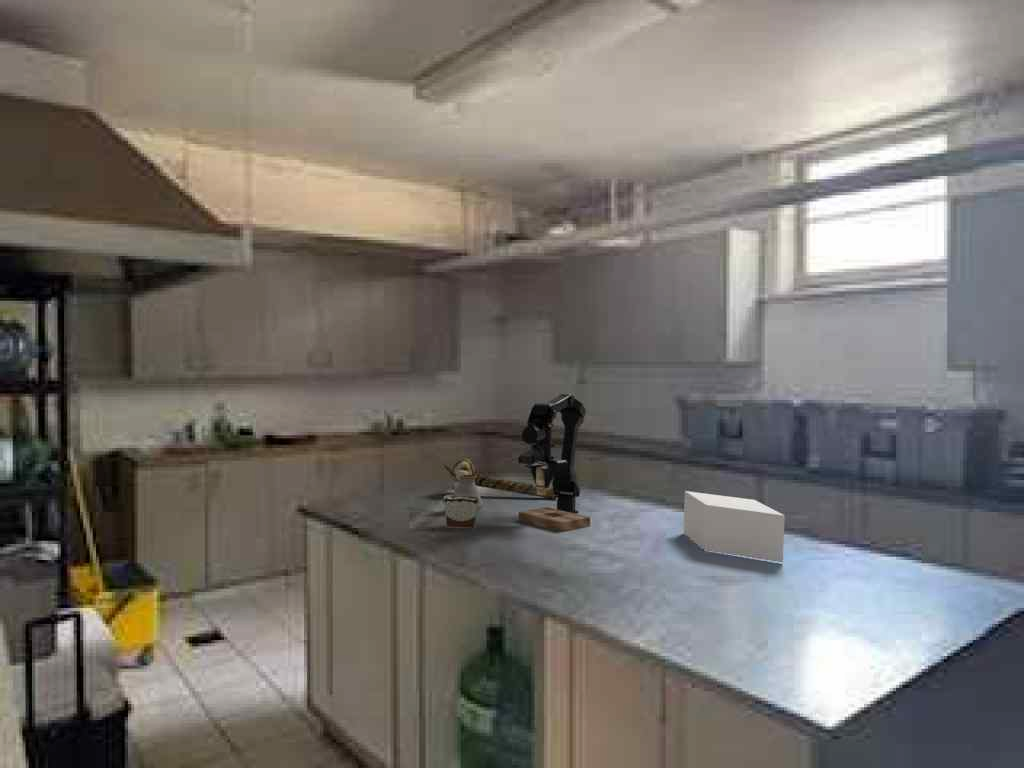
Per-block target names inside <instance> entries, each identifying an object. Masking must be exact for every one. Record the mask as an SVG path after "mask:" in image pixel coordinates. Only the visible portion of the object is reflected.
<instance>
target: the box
mask: <svg viewBox="0 0 1024 768" xmlns="http://www.w3.org/2000/svg"><path fill="white" fill-rule="evenodd" d="M683 502H684V504H683V506H684V507H683V533H684V534H686V535H687V536H688V537H689V538H690V539H692V540H693V541H694V542H695V543H697V544H698V545H699V546H700V547H702V548H703V549H704V550H707V551H713V552H721V553H726V554H732V555H740V556H746V557H752V558H758V559H765V560H771V561H778V562H783V563H784V544H785V543H784V542H785V538H784V537H785V518H786V517H785V514H783V513H781V512H779V511H777V510H775V509H773V508H771V507H769V506H767V505H765V504H763V503H762V502H759V501H758V500H756V499H750V498H744V497H735V496H728V495H726V496H725V495H720V494H713V493H711V494H710V493H705V492H703V493H702V492H696V491H687V490H685V491H684V501H683ZM684 534H683V535H684ZM686 535H685V536H686ZM687 536H686V537H687ZM688 537H687V538H688ZM689 538H688V539H689ZM690 539H689V540H690ZM692 540H691V541H692ZM693 541H692V542H693ZM694 542H693V543H694ZM695 543H694V544H695ZM699 546H698V547H699ZM700 547H699V548H700Z"/></svg>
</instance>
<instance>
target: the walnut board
mask: <svg viewBox="0 0 1024 768" xmlns="http://www.w3.org/2000/svg"><path fill="white" fill-rule="evenodd" d="M517 520H518V522H521V523H525V524H529V525H533V526H536V527H539V528H540V527H541V528H544V529H548V530H552V531H556V532H559V533H563V532H569V531H573V530H578V529H582V528H587V527H591V517H590V516H586V515H581V514H578V513H570V512H565V511H561V510H557V508H552V507H541V508H535V509H531V510H524V511H519V512H518V519H517Z"/></svg>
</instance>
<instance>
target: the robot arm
mask: <svg viewBox="0 0 1024 768" xmlns="http://www.w3.org/2000/svg"><path fill="white" fill-rule="evenodd" d="M586 411H587V410H586V408H585V406H584V404H583V403H582V402H581V401H579V400H578V399H576V398H575V397H574V395H573V394H567V393H560V394H559V395H558V396H556V397H554V398H552V399H550V400H549V401H546V402H538V403H537V402H536V403H534V405H532V407H531V410H530V412H529V416H528V419H527V421H526V424H527V426H526V427H525V428H524V429H523V430H522V432H521V438H522V440H523V442H524V443H525V444H528V445H530V449H528V450H525V451H524V452H522V453H521V454H519V456H518V458H517V459H518V460H517V462H518V463H519V464H522V465H525V467H526V468H527V469H529V470H530V471H531V472H530V473H531V475H532V478H533V481H534V485H536V467H544V465H545V467H546V468H542V470H543V471H544V474H545V488H548V487H550V485H551V486H552V488H553V494H554V495H558V498H557V499H556V509H557V510H561V511H565V512H570V513H574V514H577V513H579V510H577V509H576V498H578V497H580V494H581V488H580V486H579V483H578V478H577V477H578V476H577V474H576V472H575V469H574V466H575V465H574V464H575V457H576V449H577V448H576V447H577V439H578V431H579V428H580V427H581V426H582V425H583V423H584V420H585V417H586ZM557 413H560V415H561V418H560V419H561V421H562V424H563V426H564V431H563V441H562V447H561V449H562V450H561V455H560V458H554V456H553V455H552V448H554V447H555V444H554V443H552V438H553V437H552V435H553V434H552V433H553V427H554V425H555V424H554V423H553V422H554V420H555V418H556V417H557Z"/></svg>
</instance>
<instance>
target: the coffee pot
mask: <svg viewBox="0 0 1024 768" xmlns="http://www.w3.org/2000/svg"><path fill="white" fill-rule="evenodd" d="M443 467H444V469H443ZM441 469H442V470H447V471H448V472H449V474H450V473H451V474H452V475H453V476H454V477H455V478H456V479H457V480H458V481H459V482H460V484H459V486H458V489H457V491H456V493H454V494H466V495H474V496H477V497H478V499H479V502H480V505H479V503H478V507H477V513H478V511H480V510H481V509H482V507H483V506H484V502H483V501H482V497H481V495H480V493H479V489H478V486H477V485H476V484H475V478H476V477H477V476H476V475H460V476H459V478H460V479H459V478H458V477H457V475H456V474H455V473H454V472H453V471H452V470H453V469H451V468H450V467H449V466H448V465H446V464H444V465H443V466H442V467H441Z"/></svg>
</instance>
